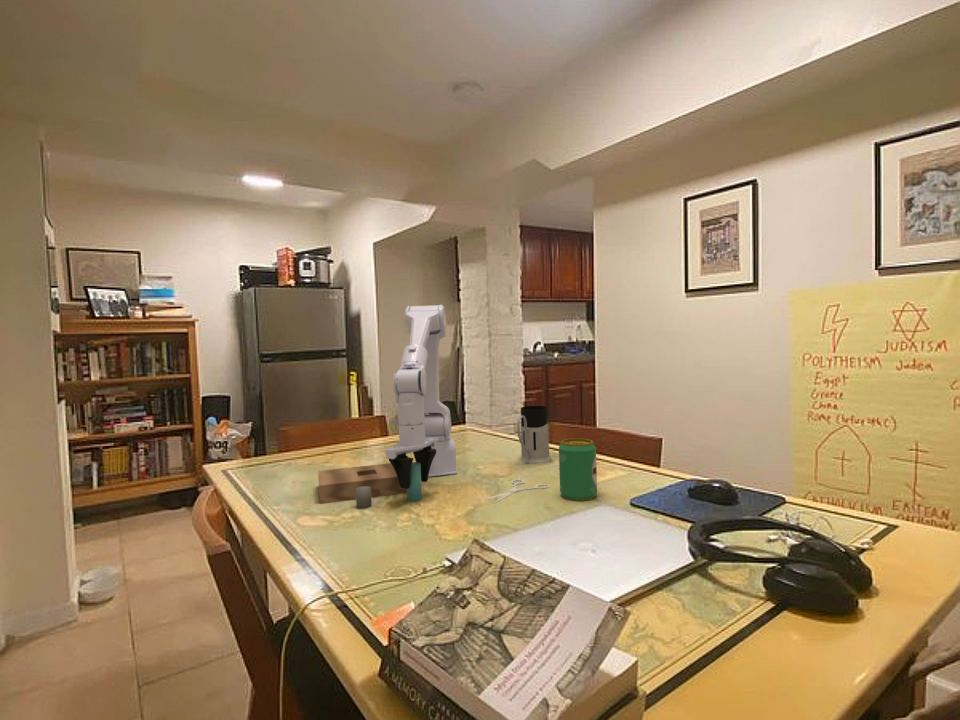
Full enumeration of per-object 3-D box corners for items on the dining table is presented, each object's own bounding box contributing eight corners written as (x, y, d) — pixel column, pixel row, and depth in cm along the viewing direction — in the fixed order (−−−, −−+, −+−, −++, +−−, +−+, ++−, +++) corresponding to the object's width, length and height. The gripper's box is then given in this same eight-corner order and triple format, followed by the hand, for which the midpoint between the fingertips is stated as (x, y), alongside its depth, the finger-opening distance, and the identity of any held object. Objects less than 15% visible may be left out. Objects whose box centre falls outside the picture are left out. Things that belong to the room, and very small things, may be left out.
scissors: (555, 483, 125) (504, 505, 109) (555, 486, 125) (504, 509, 109) (518, 477, 132) (466, 496, 116) (519, 480, 132) (466, 500, 116)
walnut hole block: (407, 476, 136) (407, 461, 136) (418, 491, 123) (417, 474, 123) (318, 487, 130) (318, 470, 129) (319, 503, 116) (319, 485, 116)
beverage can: (597, 502, 111) (596, 445, 110) (559, 500, 112) (557, 445, 112) (596, 490, 119) (595, 438, 118) (561, 490, 120) (559, 437, 120)
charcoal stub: (370, 503, 115) (370, 485, 115) (372, 507, 112) (371, 489, 112) (355, 505, 114) (355, 487, 114) (357, 509, 111) (356, 491, 111)
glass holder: (556, 458, 152) (554, 406, 151) (534, 469, 140) (532, 413, 139) (528, 455, 156) (527, 404, 156) (505, 466, 144) (503, 411, 144)
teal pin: (420, 496, 119) (419, 461, 118) (423, 501, 116) (421, 464, 115) (406, 498, 118) (404, 463, 117) (408, 502, 115) (407, 466, 114)
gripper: (420, 417, 124) (422, 474, 125) (374, 427, 112) (377, 490, 113) (443, 419, 120) (445, 478, 121) (398, 429, 108) (401, 495, 109)
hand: (414, 484), depth 116 cm, fingers open, 5 cm apart
